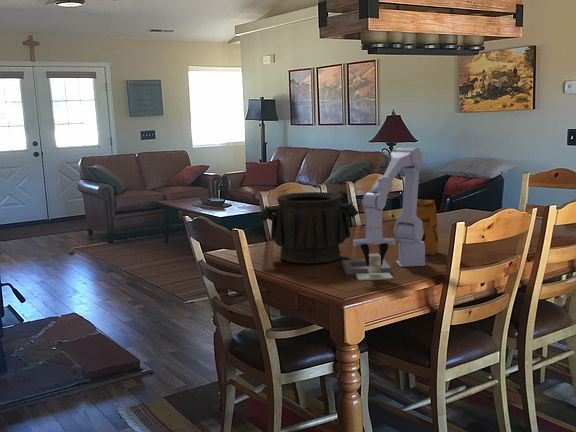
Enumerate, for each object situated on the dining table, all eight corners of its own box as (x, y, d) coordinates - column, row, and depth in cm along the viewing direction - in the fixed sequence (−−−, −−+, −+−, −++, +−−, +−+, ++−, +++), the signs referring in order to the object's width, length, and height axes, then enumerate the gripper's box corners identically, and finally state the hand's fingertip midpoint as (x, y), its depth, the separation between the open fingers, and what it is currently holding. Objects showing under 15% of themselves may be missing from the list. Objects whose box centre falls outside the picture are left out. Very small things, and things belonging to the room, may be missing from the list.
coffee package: (432, 257, 251) (433, 201, 247) (403, 253, 258) (403, 199, 254) (441, 252, 259) (442, 198, 255) (413, 248, 266) (413, 196, 262)
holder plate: (383, 263, 242) (383, 258, 242) (391, 273, 228) (391, 267, 228) (341, 265, 241) (341, 260, 241) (346, 274, 228) (346, 269, 227)
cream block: (378, 270, 226) (378, 253, 225) (380, 272, 222) (380, 256, 221) (367, 270, 225) (367, 253, 224) (369, 273, 222) (369, 256, 220)
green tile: (389, 274, 227) (389, 272, 227) (393, 279, 220) (393, 277, 220) (355, 275, 227) (355, 273, 227) (358, 280, 220) (358, 278, 220)
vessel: (255, 258, 256) (252, 197, 252) (313, 246, 276) (312, 188, 272) (305, 272, 233) (303, 204, 229) (365, 257, 253) (365, 195, 249)
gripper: (354, 229, 216) (355, 268, 219) (397, 228, 217) (397, 267, 219) (351, 226, 223) (352, 263, 226) (392, 224, 224) (392, 262, 226)
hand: (374, 265), depth 223 cm, fingers closed on cream block, 4 cm apart
